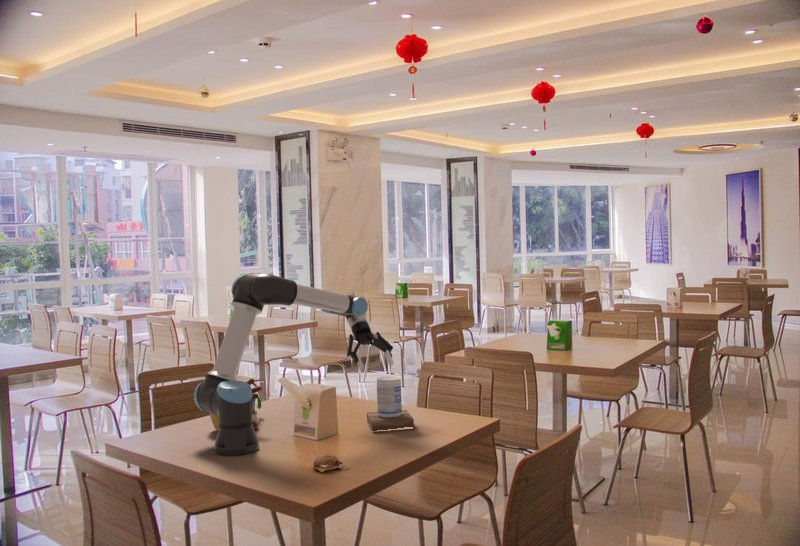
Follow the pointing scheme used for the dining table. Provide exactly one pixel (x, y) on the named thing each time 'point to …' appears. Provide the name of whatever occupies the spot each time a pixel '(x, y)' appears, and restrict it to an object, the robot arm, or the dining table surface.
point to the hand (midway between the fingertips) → (377, 366)
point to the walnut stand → (389, 421)
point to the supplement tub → (389, 396)
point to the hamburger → (327, 463)
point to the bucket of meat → (255, 418)
